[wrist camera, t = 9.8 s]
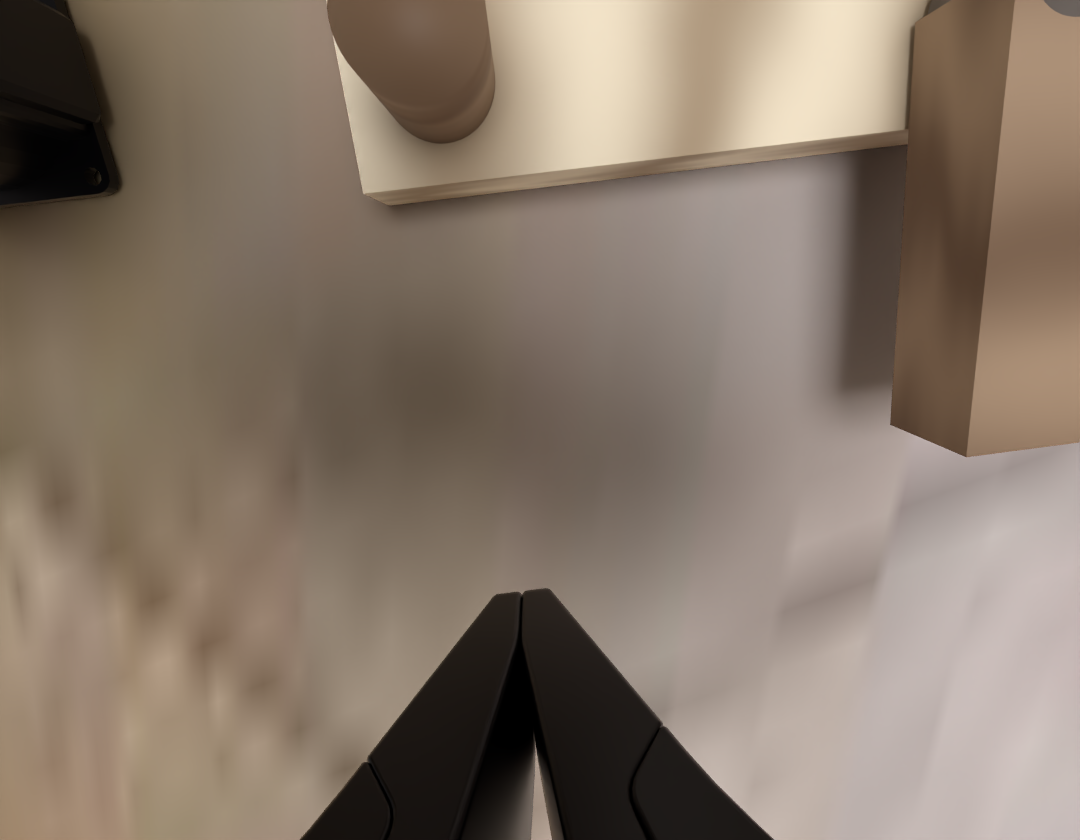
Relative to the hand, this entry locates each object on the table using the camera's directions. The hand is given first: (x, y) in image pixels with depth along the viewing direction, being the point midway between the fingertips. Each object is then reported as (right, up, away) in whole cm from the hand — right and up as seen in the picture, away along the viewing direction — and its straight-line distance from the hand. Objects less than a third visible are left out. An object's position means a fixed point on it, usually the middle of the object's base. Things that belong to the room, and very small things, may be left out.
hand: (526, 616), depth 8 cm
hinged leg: (+12, +9, +7) cm, 17 cm away
